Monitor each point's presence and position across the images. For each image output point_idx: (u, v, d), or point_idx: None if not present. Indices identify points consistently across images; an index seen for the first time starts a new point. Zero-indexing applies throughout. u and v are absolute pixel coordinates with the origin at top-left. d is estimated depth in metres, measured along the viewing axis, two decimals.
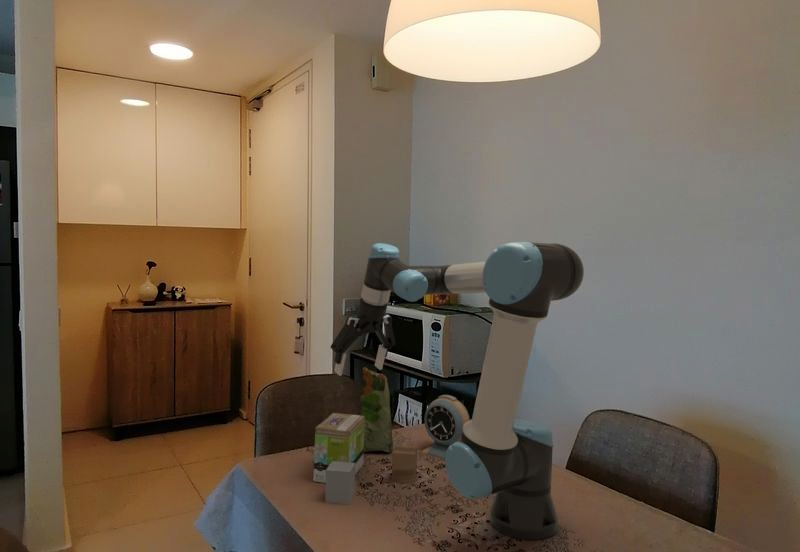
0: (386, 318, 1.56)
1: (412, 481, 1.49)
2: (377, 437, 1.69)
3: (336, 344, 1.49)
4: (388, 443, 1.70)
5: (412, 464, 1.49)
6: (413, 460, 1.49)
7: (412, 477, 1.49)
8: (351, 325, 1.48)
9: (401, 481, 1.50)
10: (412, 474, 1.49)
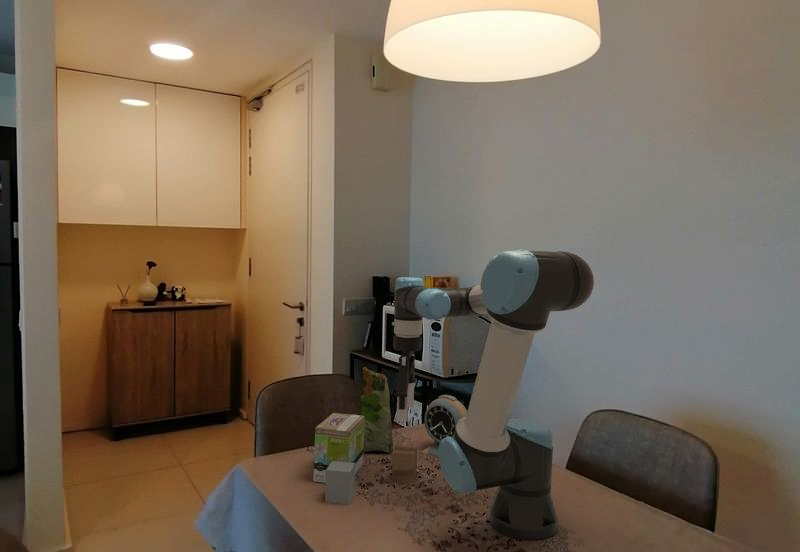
0: None
1: (412, 481, 1.49)
2: (377, 437, 1.69)
3: (403, 388, 1.42)
4: (388, 443, 1.70)
5: (412, 464, 1.49)
6: (413, 460, 1.49)
7: (412, 477, 1.49)
8: (408, 363, 1.45)
9: (401, 481, 1.50)
10: (412, 474, 1.49)
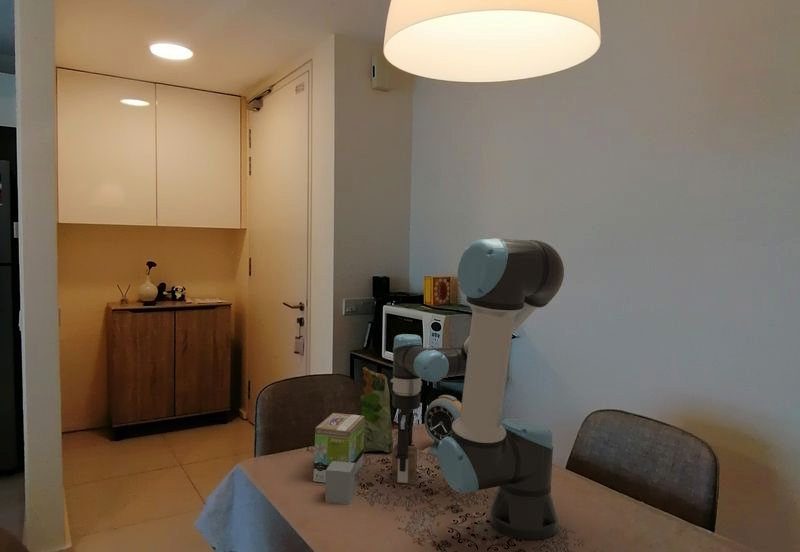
0: None
1: (412, 481, 1.49)
2: (377, 437, 1.69)
3: (403, 452, 1.46)
4: (388, 443, 1.70)
5: (412, 464, 1.49)
6: (413, 460, 1.49)
7: (412, 477, 1.49)
8: (407, 427, 1.46)
9: None
10: (412, 474, 1.49)
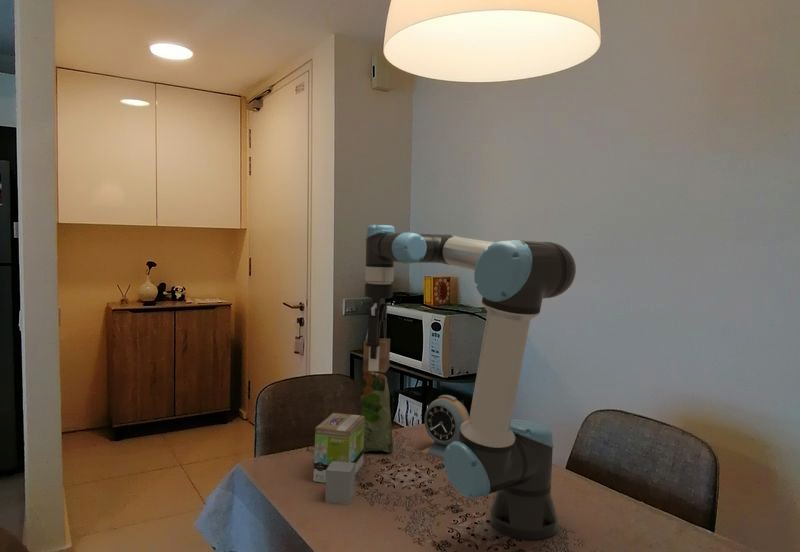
0: None
1: (383, 369, 1.50)
2: (377, 437, 1.69)
3: (373, 338, 1.46)
4: (388, 443, 1.70)
5: (384, 353, 1.49)
6: (384, 348, 1.49)
7: (383, 365, 1.49)
8: (377, 313, 1.46)
9: None
10: (383, 362, 1.49)
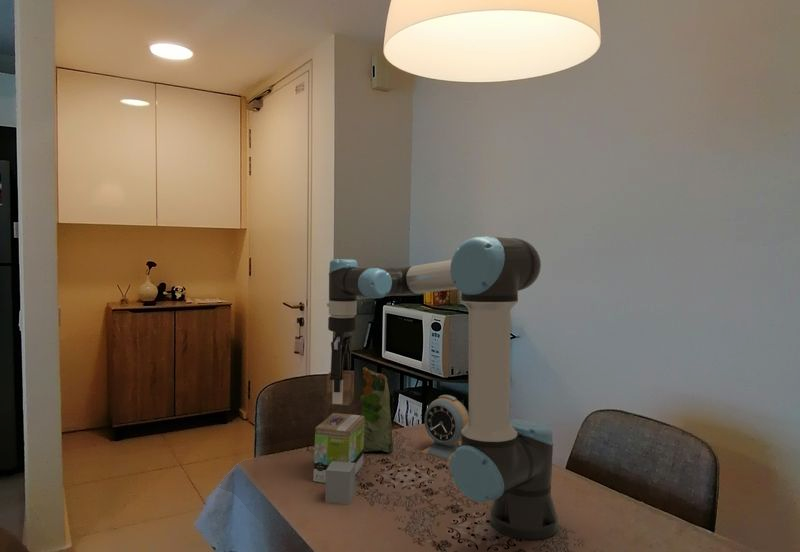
0: None
1: (347, 402, 1.51)
2: (377, 437, 1.69)
3: (336, 372, 1.47)
4: (388, 443, 1.70)
5: (347, 386, 1.51)
6: (348, 381, 1.51)
7: (347, 398, 1.51)
8: (340, 348, 1.47)
9: None
10: (347, 395, 1.51)
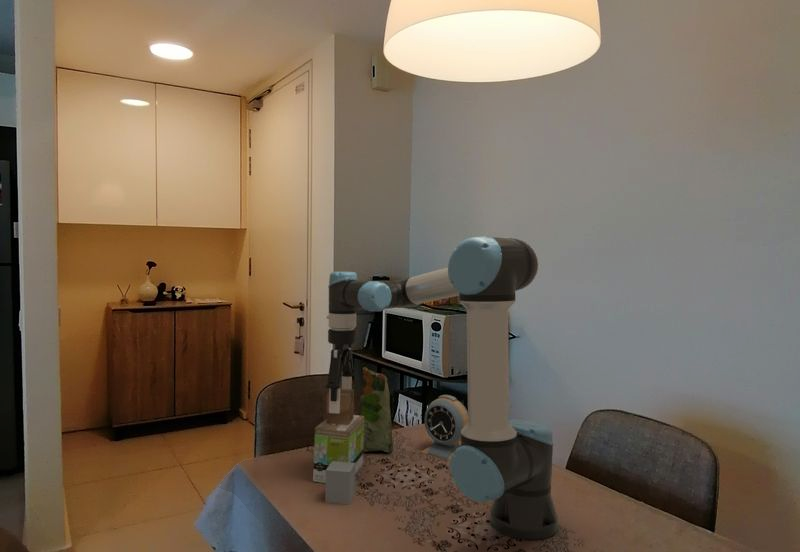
0: None
1: (346, 422, 1.51)
2: (377, 437, 1.69)
3: (333, 380, 1.44)
4: (388, 443, 1.70)
5: (347, 405, 1.51)
6: (347, 401, 1.51)
7: (346, 418, 1.51)
8: (340, 356, 1.47)
9: (336, 422, 1.51)
10: (346, 415, 1.51)
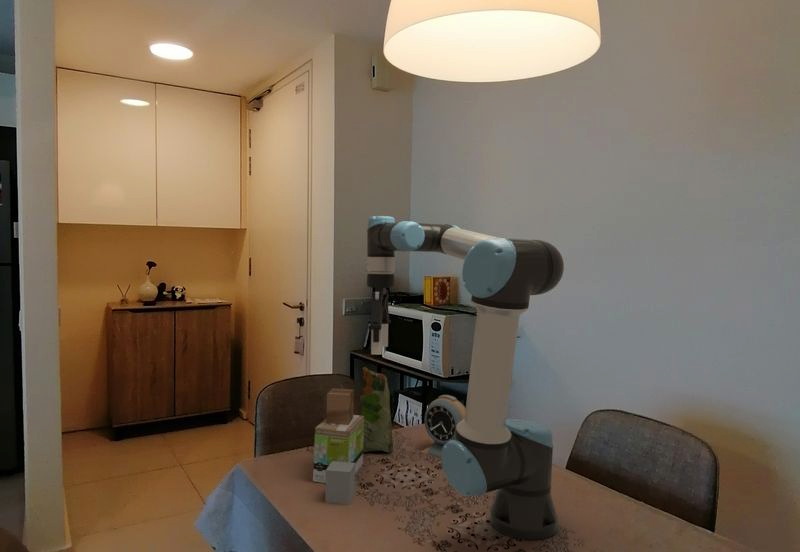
0: None
1: (346, 422, 1.51)
2: (377, 437, 1.69)
3: (376, 320, 1.46)
4: (388, 443, 1.70)
5: (347, 405, 1.51)
6: (347, 401, 1.51)
7: (346, 418, 1.51)
8: (381, 297, 1.48)
9: (336, 422, 1.51)
10: (346, 415, 1.51)
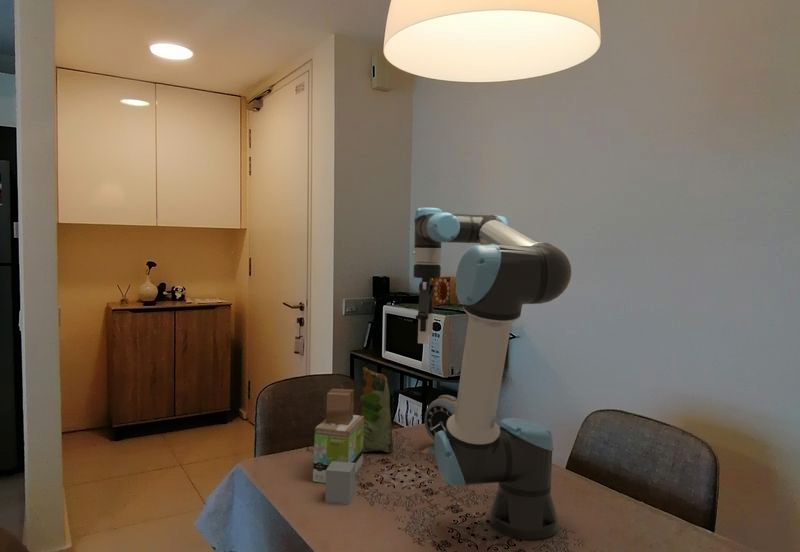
0: None
1: (346, 422, 1.51)
2: (377, 437, 1.69)
3: (424, 310, 1.48)
4: (388, 443, 1.70)
5: (347, 405, 1.51)
6: (347, 401, 1.51)
7: (346, 418, 1.51)
8: (428, 288, 1.51)
9: (336, 422, 1.51)
10: (346, 415, 1.51)
